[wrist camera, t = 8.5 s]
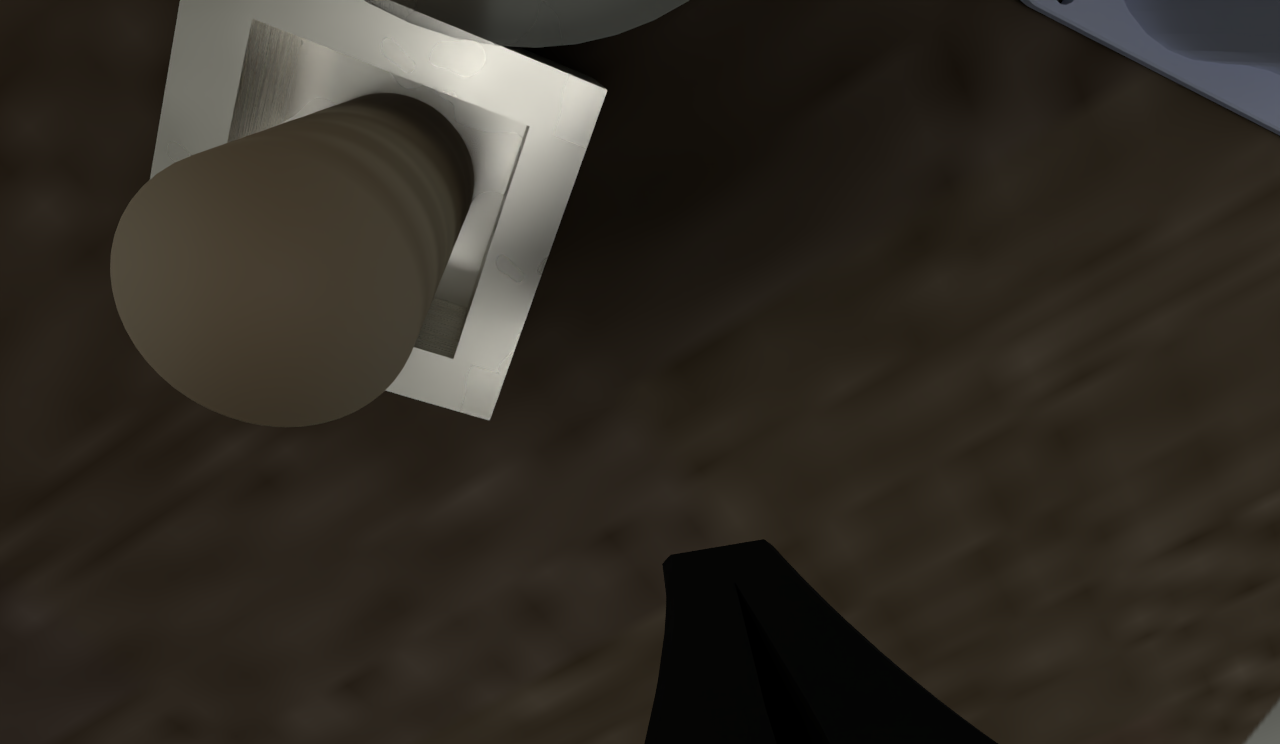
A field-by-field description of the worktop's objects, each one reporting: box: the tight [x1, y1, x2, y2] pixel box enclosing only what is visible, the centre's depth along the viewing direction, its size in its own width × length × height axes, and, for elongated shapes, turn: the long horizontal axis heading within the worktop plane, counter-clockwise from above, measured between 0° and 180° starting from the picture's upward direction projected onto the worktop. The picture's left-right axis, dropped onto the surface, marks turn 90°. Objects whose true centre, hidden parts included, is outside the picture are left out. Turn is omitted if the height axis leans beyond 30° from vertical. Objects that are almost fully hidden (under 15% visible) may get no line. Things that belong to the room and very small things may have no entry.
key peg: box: [110, 93, 475, 427], centre depth 12 cm, size 3×3×8 cm
